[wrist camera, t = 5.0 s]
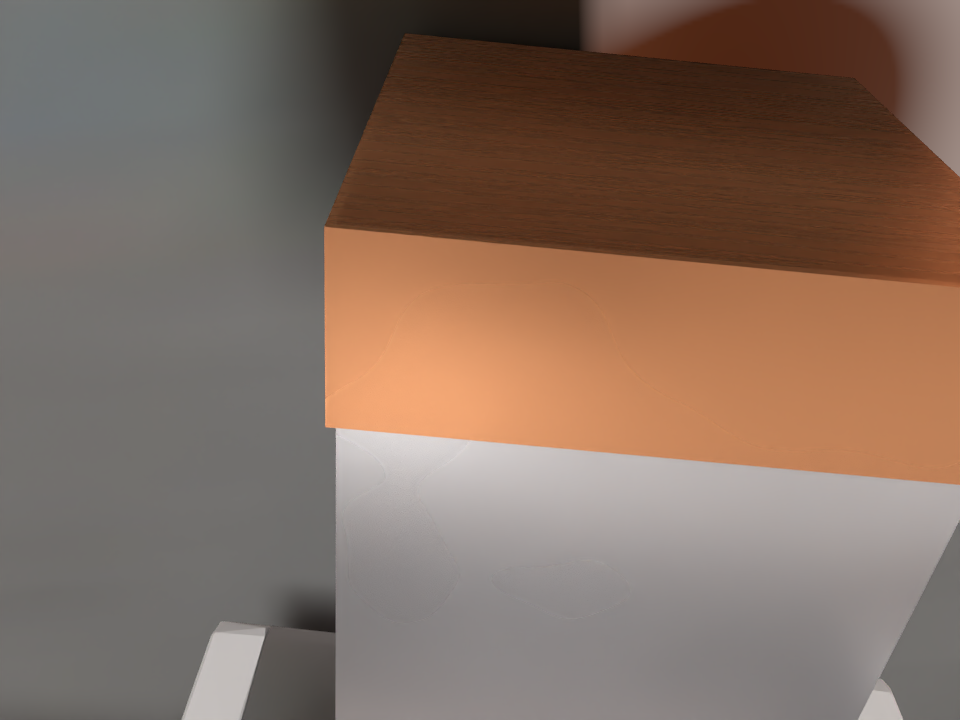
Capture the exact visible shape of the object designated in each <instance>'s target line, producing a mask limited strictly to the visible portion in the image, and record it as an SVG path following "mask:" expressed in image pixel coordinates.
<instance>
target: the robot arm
mask: <svg viewBox="0 0 960 720" xmlns="http://www.w3.org/2000/svg"><path fill="white" fill-rule="evenodd" d="M335 683H336V633H331V632H322V631H313V630H304V629H296V628H287V627H278V626H268V625H257V624H247V623H237V622H226V621H221V622H220V623H219V624H218V626H217V627H216V629H215V630H214V632H213V633H212V635H211V637H210V640H209V643H208V646H207V649H206V652H205V654H204V657H203V660H202V663H201V666H200V669H199V671H198V674H197V677H196V680H195V683H194V686H193V689H192V691H191V694H190V697H189V700H188V703H187V706H186V708H185V711H184V714H183V717H182V720H335ZM858 720H903V717H902V715H901V713H900V710H899V708H898V705H897V703H896V700H895V698H894V696H893V693H892V691H891V688H890V687H889V686H888V685H887V684H886V683H885V682H884V681H883V680H882V679H878V681H877V683H876V685H875V687H874V689H873V691H872V693H871V695H870V697H869V699H868V701H867V703H866V705H865V707H864V709H863V710H862V712H861V714H860V716H859V718H858Z"/></svg>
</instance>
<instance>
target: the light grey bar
mask: <svg viewBox="0 0 960 720" xmlns="http://www.w3.org/2000/svg"><path fill="white" fill-rule="evenodd" d="M324 250H325V427H331V428H336V683H335V720H858V718H859V716H860V714H861V712H862V710H863V709H864V707H865V705H866V703H867V701H868V699H869V697H870V695H871V693H872V691H873V689H874V687H875V685H876V683H877V681H878V679H879V677H880V675H881V673H882V671H883V669H884V667H885V665H886V663H887V661H888V659H889V658H890V656H891V654H892V652H893V650H894V648H895V646H896V644H897V642H898V640H899V638H900V636H901V634H902V632H903V630H904V628H905V626H906V624H907V622H908V620H909V618H910V616H911V614H912V612H913V610H914V608H915V607H916V605H917V603H918V601H919V599H920V597H921V595H922V593H923V591H924V589H925V587H926V585H927V583H928V581H929V579H930V577H931V575H932V573H933V571H934V569H935V567H936V565H937V563H938V561H939V559H940V557H941V556H942V554H943V552H944V550H945V548H946V546H947V544H948V542H949V540H950V538H951V536H952V534H953V532H954V530H955V528H956V526H957V524H958V522H959V520H960V177H959V176H958V175H957V174H956V173H955V172H954V171H953V170H951V169H950V168H949V167H948V166H947V165H946V164H945V163H944V162H943V161H942V160H941V159H940V158H938V156H936V155H935V154H934V153H933V152H932V151H931V150H930V149H929V148H928V147H927V146H926V145H925V144H924V143H923V142H922V141H921V140H920V139H918V138H917V137H916V136H915V135H914V134H913V133H912V132H911V131H910V130H909V129H908V128H907V127H906V126H904V124H902V123H901V122H900V121H899V120H898V119H897V118H896V117H895V116H894V115H893V114H892V113H891V112H890V111H889V110H887V108H885V107H884V106H883V105H882V104H881V103H880V102H879V101H878V100H877V99H876V98H875V97H874V96H873V95H872V94H871V93H870V92H868V91H867V90H866V89H865V88H864V87H863V86H862V85H861V84H860V83H859V82H858V81H857V80H856V79H854V78H847V77H838V76H827V75H818V74H808V73H796V72H787V71H777V70H767V69H757V68H747V67H737V66H727V65H717V64H707V63H697V62H687V61H677V60H667V59H657V58H647V57H637V56H627V55H617V54H607V53H597V52H587V51H577V50H567V49H557V48H547V47H537V46H527V45H517V44H507V43H497V42H487V41H477V40H467V39H457V38H447V37H437V36H427V35H417V34H407V33H405V34H404V37H403V39H402V41H401V44H400V46H399V49H398V51H397V53H396V56H395V58H394V61H393V63H392V65H391V68H390V70H389V73H388V75H387V77H386V80H385V82H384V85H383V87H382V89H381V92H380V94H379V97H378V99H377V101H376V104H375V106H374V109H373V111H372V113H371V116H370V118H369V121H368V123H367V126H366V128H365V130H364V133H363V135H362V138H361V140H360V142H359V145H358V147H357V150H356V152H355V154H354V157H353V159H352V162H351V164H350V166H349V169H348V171H347V174H346V176H345V178H344V181H343V183H342V186H341V188H340V190H339V193H338V195H337V198H336V200H335V202H334V205H333V207H332V210H331V212H330V214H329V217H328V219H327V222H326V224H325V227H324Z"/></svg>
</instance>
